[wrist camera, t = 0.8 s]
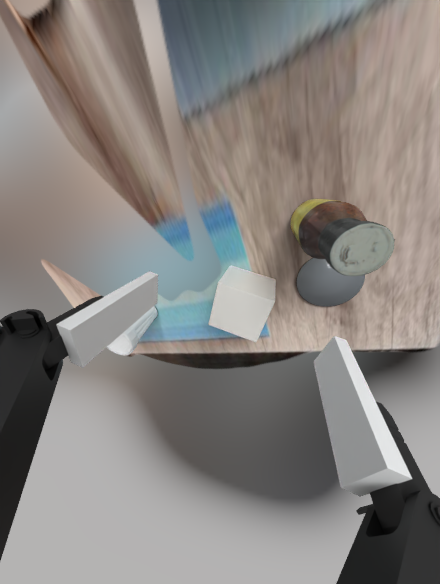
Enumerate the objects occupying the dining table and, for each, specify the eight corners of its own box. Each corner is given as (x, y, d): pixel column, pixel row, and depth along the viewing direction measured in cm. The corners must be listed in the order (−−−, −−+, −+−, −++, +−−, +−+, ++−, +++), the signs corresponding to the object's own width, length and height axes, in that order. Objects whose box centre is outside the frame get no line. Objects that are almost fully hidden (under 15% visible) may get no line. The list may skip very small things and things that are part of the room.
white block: (230, 265, 37) (218, 282, 30) (275, 279, 36) (275, 301, 28) (220, 301, 43) (208, 324, 35) (260, 315, 41) (256, 342, 34)
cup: (135, 316, 55) (98, 346, 44) (133, 289, 49) (92, 316, 38) (163, 327, 53) (133, 361, 42) (165, 301, 48) (131, 333, 37)
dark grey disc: (312, 244, 31) (313, 245, 30) (378, 262, 29) (379, 263, 29) (287, 294, 37) (287, 295, 36) (341, 311, 35) (342, 313, 35)
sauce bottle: (283, 229, 31) (288, 268, 15) (303, 192, 28) (340, 186, 11) (317, 244, 31) (363, 301, 14) (342, 208, 27) (440, 226, 11)
